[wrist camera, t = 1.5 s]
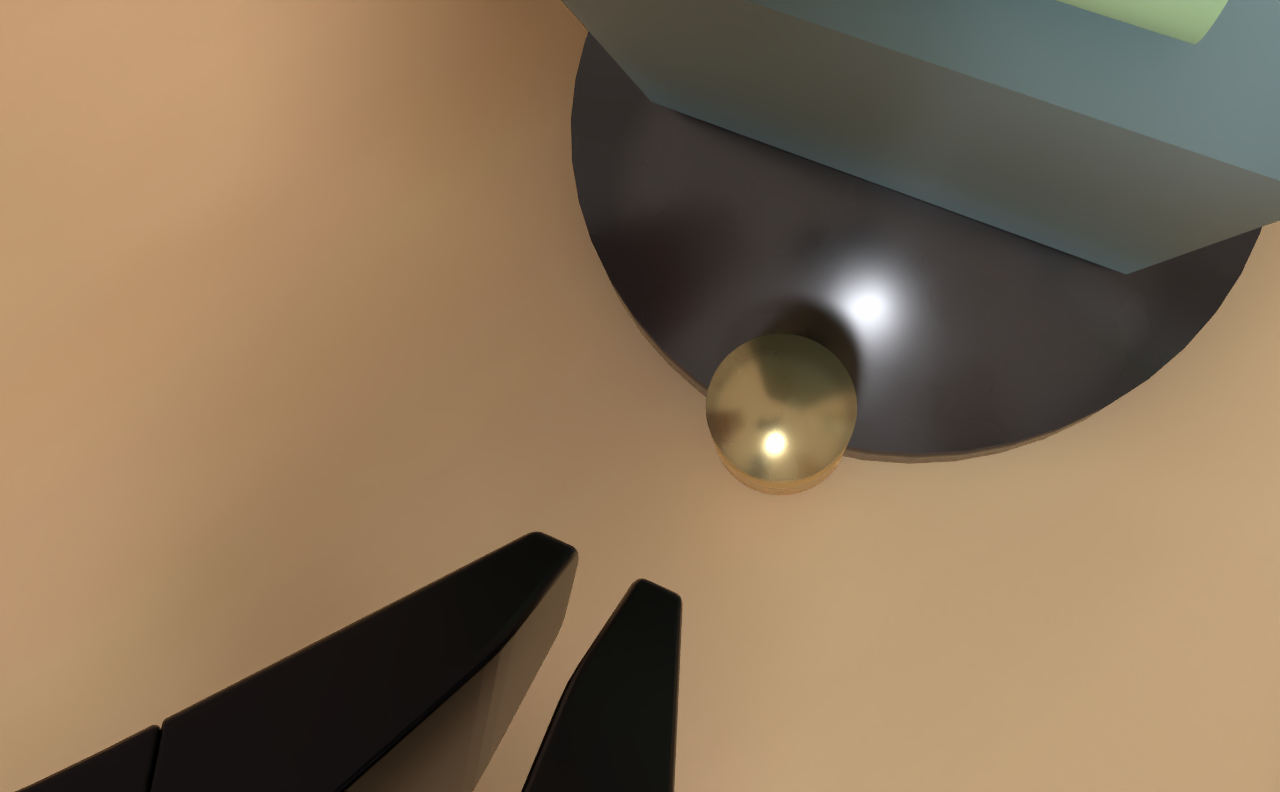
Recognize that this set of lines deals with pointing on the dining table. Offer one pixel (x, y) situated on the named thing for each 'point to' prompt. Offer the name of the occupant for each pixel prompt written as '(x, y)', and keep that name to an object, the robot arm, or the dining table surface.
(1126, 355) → the base
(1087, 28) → the grey upright slab
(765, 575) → the dining table surface
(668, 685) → the robot arm
